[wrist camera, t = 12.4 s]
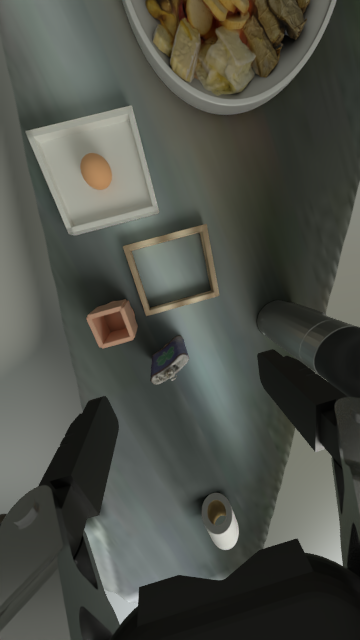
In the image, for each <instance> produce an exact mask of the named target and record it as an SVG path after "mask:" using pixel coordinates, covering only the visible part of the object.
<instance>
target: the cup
mask: <svg viewBox="0 0 360 640" xmlns="http://www.w3.org/2000/svg"><path fill="white" fill-rule="evenodd" d="M87 316H88V317H87V318H86V319H87V321H88V323H89V326H90V328H91V330H92V332H93V334H94V336H95V339H96V341H97V343H98V345H99V347H102V349H103V348H107V347H110V346H114V345H117V344H121V343H124V342H128V341H131V340H134V338H135V335H136V331H137V328H138V325H137V322H136V320H135V313H134V310H133V309H132V307H131V306H130V303H129V300H126V299H124V300H120V301H112V302H110V303H108V304H106V305H102V306H98V307H97V308H96V309H94V310H93V311H92V312H91V313H90V314H89V315H87ZM110 331H111V332H110Z"/></svg>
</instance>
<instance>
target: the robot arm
mask: <svg viewBox="0 0 360 640" xmlns="http://www.w3.org/2000/svg"><path fill="white" fill-rule="evenodd" d="M257 326H258V329H259V331H260V332H261V333H262V334H264V335H265V336H267V337H268V338H269V339H271V340H272V341H273V342H275V343H276V344H277V345H279V346H280V347H282V348H283V349H284V350H286V351H287V352H288V353H290V354H291V355H293V356H294V357H295V358H297V359H298V360H296V359H294V358H291V357H289V356H285V357H283V356H282V355H280V354H279V353H278V352H276V351H275V350H273V349H272V350H268V351H265V352H261V353H258V355H257V357H258V366H259V375H260V380H261V383H262V385H263V387H264V389H265V390H266V392H267V393H268V394H269V395H270V396H271V398H272V399H273V400H274V401H275V403H276V404H277V405H278V406H279V408H280V409H281V410H282V411H283V413H284V414H285V415H286V416H287V418H288V419H289V420H290V421H291V422H292V424H293V425H294V426H295V427H296V429H297V430H298V431H299V432H300V434H301V435H302V436H303V437H304V438H305V440H306V441H307V442H308V443H309V445H310V446H311V447H312V448H313V450H314V451H315V452H317V451H320V450H323V449H326V450H327V451H328V452H329V453H330V454H331V456H332V467H333V475H334V482H335V490H336V497H337V504H338V512H339V521H340V538H341V551H342V561H343V566H341V565H339V564H338V563H336V562H334V561H331V560H329V559H327V558H324V557H321V556H318V555H314V554H310V553H304V551H303V549H302V547H301V545H300V543H299V541H298V539H294V540H291V541H287V542H284V543H281V544H278V545H275V546H271V547H268V548H265V549H262V550H259V551H258V552H257V553H255V554H254V555H253V556H252V557H251V558H249V559H248V560H247V561H246V562H245V563H244V564H242V565H241V566H240V567H239V568H238V569H237V570H235V571H234V572H233V573H232V574H231V575H229V576H228V577H227V578H226V579H224V580H211V579H204V578H196V577H189V576H182V575H177V576H174V577H171V578H168V579H164V580H161V581H158V582H155V583H151V584H148V585H145V586H142V587H139V600H138V607H136V608H135V609H134V610H133V611H132V612H131V613H130V614H129V615H128V616H127V617H126V619H125V620H124V621H123V622H122V623H121V625H120V624H119V622H118V619H117V617H116V614H115V612H114V610H113V608H112V606H111V604H110V602H109V601H108V599H107V596H106V594H105V591H104V588H103V585H102V582H101V579H100V576H99V573H98V570H97V566H96V563H95V560H94V557H93V554H92V551H91V547H90V544H89V541H88V538H87V535H86V533H85V531H84V528H85V524H86V520H87V518H91V517H94V516H98V515H99V513H100V509H101V505H102V500H103V496H104V492H105V487H106V483H107V479H108V474H109V470H110V465H111V461H112V457H113V452H114V448H115V444H116V439H117V435H118V430H119V425H118V419H117V417H116V415H115V413H114V411H113V409H112V406H111V404H110V402H109V400H108V398H107V397H106V396H103V397H100V398H96V399H93V400H89V401H88V403H87V405H86V407H85V409H84V411H83V413H82V414H79V416H78V417H77V418H76V419H75V420H74V421H73V423H71V425H70V427H69V429H68V430H67V433H66V434H65V437H64V438H63V440H62V442H61V444H60V447H59V448H58V449H57V451H56V453H55V455H54V457H53V459H52V461H51V463H50V465H49V467H48V469H47V471H46V473H45V474H44V476H43V478H42V480H41V482H40V484H39V486H38V487H36V488H34V489H33V490H31V491H29V492H28V493H27V494H25V495H24V496H23V497H22V498H21V499H20V500H19V501H18V502H17V503H16V504H15V505H14V506H13V507H12V508H11V510H10V511H9V512H8V514H7V515H6V517H5V518H4V520H3V522H2V523H1V524H0V640H360V328H359V327H357V326H354V325H351V324H348V323H345V322H342V321H339V320H336V319H333V318H330V317H328V316H326V314H325V313H323V312H320V311H317V310H314V309H311V308H308V307H305V306H302V305H299V304H296V303H293V302H290V303H288V302H285V301H281V300H276V301H272V302H270V303H268V304H267V305H265V306H264V307H263V308H262V310H261V311H260V313H259V315H258V318H257ZM300 361H301V362H300ZM303 363H304V364H305V365H304V364H303ZM307 366H308V367H309V368H308V367H307ZM310 368H311V369H312V370H313V371H312V370H311V369H310ZM314 371H315V372H316V373H317V374H315V372H314ZM318 374H319V375H320V376H319V375H318ZM321 376H322V377H323V378H324V379H323V378H322V377H321ZM325 379H326V380H327V381H328V382H327V381H326V380H325Z"/></svg>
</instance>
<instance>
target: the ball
mask: <svg viewBox="0 0 360 640" xmlns="http://www.w3.org/2000/svg"><path fill="white" fill-rule="evenodd" d="M80 169H81V174H82V176H83V178H84V180H85V181H86V183H87V184H88V185H89V186H91V187H92V188H94V189H97V190H103V189H106V188H107V187H108V186H109V185H110V183H111V181H112V171H111V168H110V166H109V164H108V162H107V161H106V160H105V159H104V158H103V157H102V156H101V155H99V154H96V153H88V154H86V155H85V156H84V157H83V158H82V160H81V164H80Z"/></svg>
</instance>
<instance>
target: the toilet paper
mask: <svg viewBox="0 0 360 640" xmlns="http://www.w3.org/2000/svg"><path fill="white" fill-rule="evenodd" d="M221 515H224V516H226V518H225V520H224V522H223V523H222V524H221V525H215V522H216V519H217V518H218V517H219V516H221ZM202 519H203V522H204V525H205V527H206V529H207V531H208V532H209V534H210V536H211V538H212V540H213V542H214V543H215V545H216V546H217V547H219V548H220V549H223V550H228V549H231V548H232V547H233V546H234V545H235V544H236V542H237V539H238V534H239V529H238V523H237V520H236V518H235V515H234V513H233V510H232V507H231V505H230V503H229V501H228V499H227V498H226V497H225V496H224V495H222V494H220V493H212V494H210V495H208V496H207V497H206V499H205V500H204V502H203V505H202Z"/></svg>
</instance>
